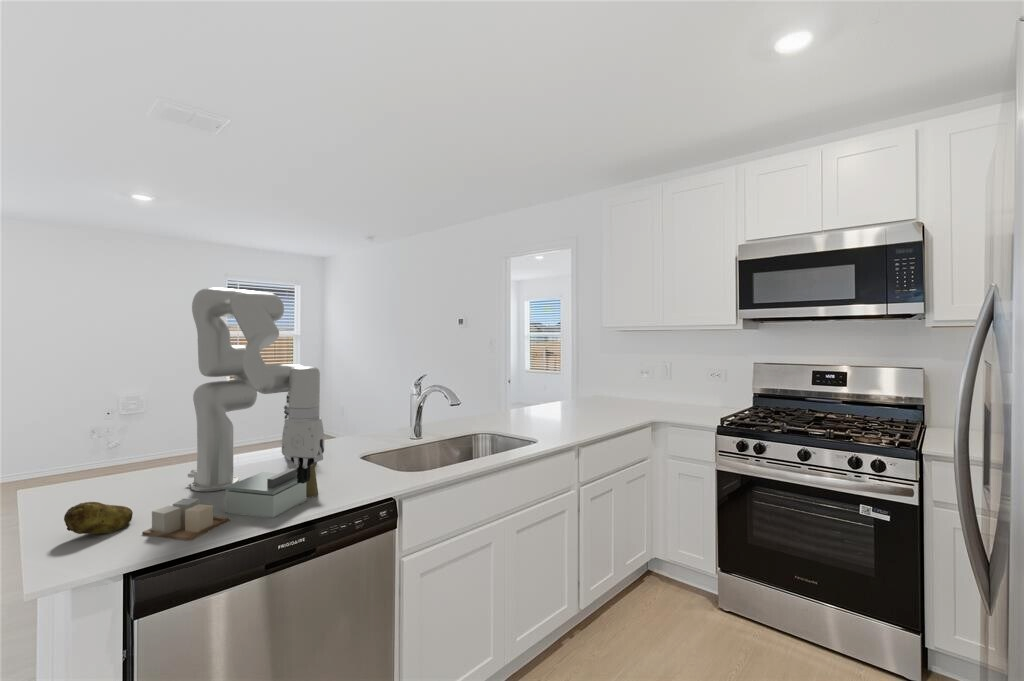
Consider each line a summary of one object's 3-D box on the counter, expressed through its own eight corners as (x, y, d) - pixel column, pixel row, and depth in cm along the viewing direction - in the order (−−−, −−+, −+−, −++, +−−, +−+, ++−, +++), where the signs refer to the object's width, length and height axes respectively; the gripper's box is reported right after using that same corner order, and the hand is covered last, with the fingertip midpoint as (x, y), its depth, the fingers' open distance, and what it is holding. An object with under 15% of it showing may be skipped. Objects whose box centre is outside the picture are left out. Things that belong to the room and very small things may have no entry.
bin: (225, 514, 130) (225, 491, 130) (262, 496, 144) (262, 475, 143) (273, 519, 127) (273, 496, 127) (306, 500, 141) (306, 479, 141)
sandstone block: (185, 531, 118) (185, 510, 118) (198, 524, 122) (198, 504, 122) (199, 532, 117) (199, 511, 117) (213, 526, 121) (213, 505, 121)
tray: (142, 536, 116) (142, 531, 116) (185, 517, 127) (185, 513, 127) (190, 542, 113) (190, 537, 113) (230, 522, 125) (230, 518, 125)
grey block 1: (151, 532, 117) (151, 511, 117) (168, 526, 121) (168, 505, 121) (164, 535, 116) (164, 513, 115) (180, 528, 119) (180, 507, 119)
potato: (138, 530, 119) (138, 497, 119) (66, 547, 109) (66, 511, 109) (130, 521, 124) (130, 489, 124) (60, 536, 115) (60, 502, 114)
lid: (225, 490, 130) (225, 477, 130) (262, 474, 143) (262, 463, 143) (273, 494, 127) (273, 482, 127) (306, 478, 141) (306, 467, 141)
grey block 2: (172, 524, 122) (172, 504, 122) (183, 518, 126) (183, 498, 126) (188, 524, 122) (188, 504, 121) (199, 518, 126) (199, 498, 125)
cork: (310, 498, 143) (310, 460, 142) (291, 496, 144) (291, 458, 144) (322, 491, 149) (322, 455, 148) (304, 490, 150) (304, 453, 150)
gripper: (269, 414, 130) (269, 483, 131) (321, 417, 127) (321, 488, 128) (287, 409, 138) (287, 475, 138) (337, 412, 135) (336, 480, 135)
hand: (303, 481), depth 133 cm, fingers closed
